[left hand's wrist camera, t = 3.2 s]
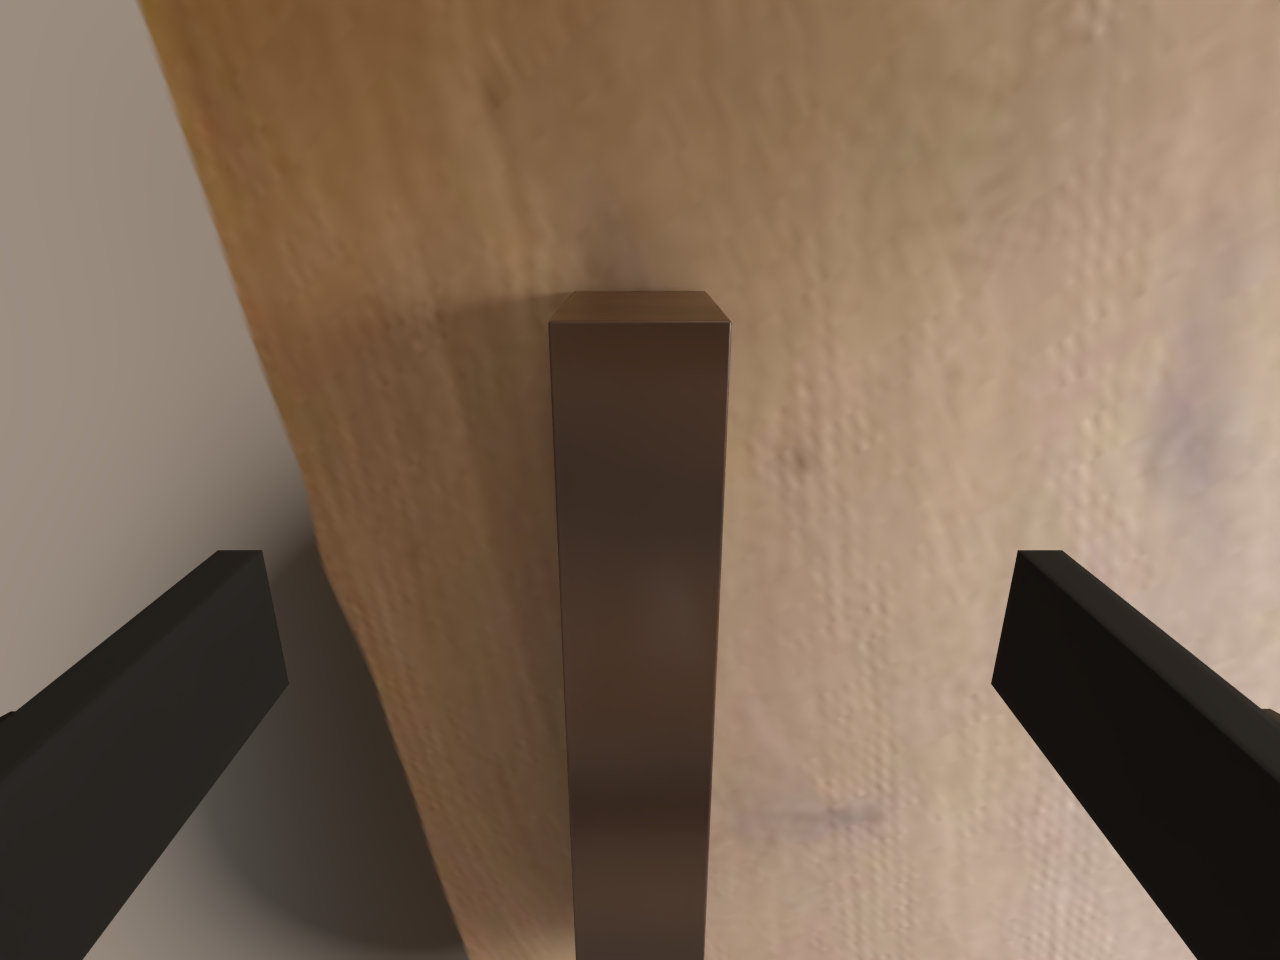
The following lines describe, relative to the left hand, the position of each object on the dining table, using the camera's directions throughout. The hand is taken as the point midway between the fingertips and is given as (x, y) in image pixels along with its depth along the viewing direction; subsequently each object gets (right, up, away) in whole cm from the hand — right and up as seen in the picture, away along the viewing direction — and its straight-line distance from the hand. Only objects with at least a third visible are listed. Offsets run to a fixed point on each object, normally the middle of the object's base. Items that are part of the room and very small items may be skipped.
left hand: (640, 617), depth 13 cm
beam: (0, -5, +20) cm, 21 cm away
